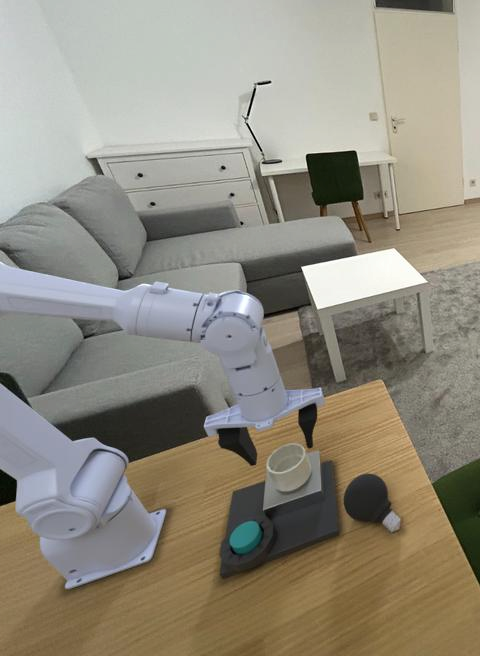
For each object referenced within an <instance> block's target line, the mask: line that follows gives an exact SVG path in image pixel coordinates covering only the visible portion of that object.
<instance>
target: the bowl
mask: <svg viewBox="0 0 480 656" xmlns="http://www.w3.org/2000/svg"><path fill="white" fill-rule="evenodd" d="M307 454H308V453H307V451H306V448H305V447H304V445H302V444H301V443H297V442H296V443H286V444H284V445H281V446H279V447H278V448H277V449H275V450H273V452H272V453H271V454H270V455H269V456H268V458H267V460H266V465H265V469H266V468H267V470H268V472H269V475H270V477H271V479H272V482H273V484H274V486H275V488H276V489H278V490H280V491H291V490H294V489H297V488H298V487H300V486H301V485H303V484H304V483H305V482H306V481H307V480H308V478H309V476H310V474H311V465H310V462H309V459H308V456H307Z"/></svg>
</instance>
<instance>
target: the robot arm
mask: <svg viewBox="0 0 480 656" xmlns="http://www.w3.org/2000/svg"><path fill="white" fill-rule="evenodd" d="M264 313H265V311H264V307H263V304H262V302H261V301H260V300H259V299H258V298H257V297H256V296H254V295H253V294H250V293H248V292H243V291H241V290H239V289H231V290H226V291H224V292H221V293H215V292H208V294H207V293H202V292H195V291H189V290H182V289H178V288H171V287H170V284H169V283H168V282H163V281H162V282H161V281H154V283H153V284H148V283H141V284H139V285H137V286H134V287H133V288H130V289H128V290H121V289H116V288H112V287H107V286H102V285H97V284H92V283H88V282H83V281H78V280H74V279H68V278H65V277H59V276H56V275H50V274H45V273H41V272H36V271H31V270H27V269H22V268H17V267H12V266H9V265H7V264H5V263H3V262H1V261H0V317H2V316H5V315H10V314H13V315H25V316H36V317H37V316H38V317H47V318H49V317H50V318H62V319H73V320H74V319H75V320H87V321H98V322H101V321H102V322H111V323H116V324H117V325H118V326H119V327H120V328H121V329H122V330H123V331H124V332H125V333H126V334H127V335H129V336H135V337H136V336H138V337H146V338H152V339H153V338H154V339H160V340H161V339H163V340H168V341H169V340H171V341H177V342H179V341H180V342H187V343H195V344H201V346H202V347H203V348H204V349H205V350H206V351H208V352H209V353H210V354H213V355H215V356H216V357H218V359H219V361H220V362H219V363H220V365H221V368H222V370H223V373H224V375H225V377H226V381H228V385H229V387H230V389H231V391H232V394H233V396H234V399H235V401H236V403H237V404H235V405H233V406H231V407H228V408H227V409H224V410H221V411H219V412H217V413H214V414H210V415H208V416H206V417H205V421H204V424H203V429H204V431H205V433H206V435H207V437H208V438H210V437H214V436H217V435H218V440H217V443H218V446H219V447H220V448H221V449H223V450H227V451H230V452H232V453H234V454H236V455H238V456H239V457H241V458H242V459H243V460H244V461H245V462H246V463H247V464H249V465H250V467H254V466H256V465H257V463H258V462H257V461H258V451H257V448H256V446H255V444H254V442H253V439H252V437H251V435H250V432H249V429H248V428H255V430H256V432H263V431H267V430H270V429H272V428H273V427H274V426H275V422H278V421H279V420H281V419H283V418H286V417H288V416H289V415H291V414H293V413H295V412H297V411H298V414H297V418H298V419H297V423H298V426H299V428H300V429H301V431H302V434H303V436H304V440H305V446H306V448H307V450H309V449H313V448H314V437H313V435H314V429H315V426H316V424H317V420H318V408H320V407H325V397H324V392H323V389H322V387H316V388H310V389H309V388H308V389H307V388H306V389H286V388H285V384H284V382H283V378H282V376H281V373H280V370H279V367H278V364H277V361H276V358H275V355H274V351H273V349H272V346H271V344H270V342H269V340H268V337H267V334H266V331H265V328H264V327H263V326H262V325H263V321H264V318H265V317H264V316H265V314H264ZM129 463H130V461H129V458H128V456H127V454H125V453H124V452H123V451H121V450H120V449H117V448H115V447H111V446H108V445H105V444H103V443H102V442H100V441H99V440H98V439H97V438H96V437H87V438H82V439H76V440H72V439H70V437H68V436H67V435H65V434H64V433H63V432H62V431H61V430H60V429H58V428H56V426H54V425H53V424H52V423H50V422H49V421H48V420H47V419H46V418H44V417H43V416H42V415H40V414H39V413H38V412H36V411H35V410H34V409H33V408H32V407H30V406H29V405H28V404H27V403H25V402H24V401H23V400H22V399H20V398H19V397H18V396H17V395H15V393H13V392H12V391H11V390H9V389H8V387H6V386H4V385H3V384H2V383H1V382H0V470H1V471H2V472H3V473H6V474H7V475H8V476H10V477H12V479H15V480H16V497H15V512H16V513H17V514H18V515H20V517H21V516H22V518H24V519H25V520H26V522H27V523H28V526H29V529H30V531H31V532H33V534H36V536H39V537H40V538H39V547H40V553H41V555H42V556H43V557H44V559H45V560H46V561H47V562H48V563H49V564H50V565H51V566H52V567H53V568H54V569H55V570H56V572H58V573H59V574H60V575H61V577H63V578H64V579H65V580H66V582H65V585H64V588H65V590H71V589H74V588H76V587H80V586H82V585H86V584H88V583H91V582H93V581H97V580H100V579H103V578H106V577H108V576H111V575H114V574H117V573H119V572H120V573H121V572H122V571H125V570H129V569H131V568H134V567H137V566H140V565H143V564H145V563H149V562H150V561H151V560H152V559H153V557H154V553H155V551H156V548H157V544H158V541H159V537H160V534H161V531H162V528H163V525H164V521H165V518H166V516H167V510H166V509H164V508H163V509H160V510H157V511H153V512H150V513H149V512H148V511H147V509H146V508H145V506H144V505H143V503H142V502H141V501H140V499H139V497H138V496H137V495H136V493H135V492H134V491H133V489H132V488H131V486H130V485H129V483H128V480H129V479H128V477H127V476H126V474H125V472H126V471H127V469H128V467H129Z"/></svg>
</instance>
